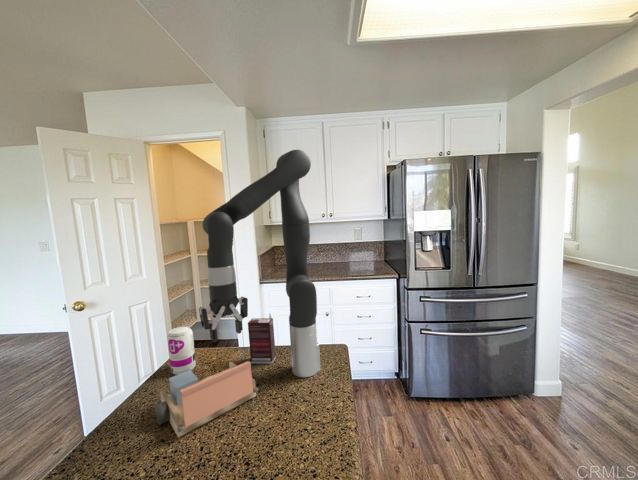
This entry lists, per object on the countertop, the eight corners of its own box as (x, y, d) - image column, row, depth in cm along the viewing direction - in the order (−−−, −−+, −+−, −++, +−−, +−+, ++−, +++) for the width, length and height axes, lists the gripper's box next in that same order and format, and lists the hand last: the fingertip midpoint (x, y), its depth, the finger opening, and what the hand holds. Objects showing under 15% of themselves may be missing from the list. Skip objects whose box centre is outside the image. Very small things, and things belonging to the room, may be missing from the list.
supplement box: (276, 357, 106) (273, 317, 105) (272, 364, 101) (269, 322, 100) (254, 357, 107) (252, 317, 106) (250, 363, 103) (247, 322, 101)
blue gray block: (191, 385, 86) (190, 369, 85) (199, 394, 80) (198, 378, 80) (170, 394, 82) (169, 378, 81) (177, 405, 76) (176, 388, 76)
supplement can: (186, 376, 96) (182, 335, 95) (165, 374, 98) (161, 334, 97) (200, 364, 104) (196, 325, 103) (181, 362, 106) (177, 325, 105)
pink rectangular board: (251, 390, 82) (248, 361, 82) (253, 392, 81) (250, 362, 81) (183, 425, 69) (180, 390, 69) (185, 427, 68) (181, 392, 68)
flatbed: (239, 372, 97) (238, 358, 97) (265, 394, 84) (264, 378, 84) (152, 411, 79) (150, 395, 78) (168, 446, 66) (166, 427, 65)
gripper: (239, 275, 87) (243, 326, 88) (192, 284, 77) (197, 341, 78) (251, 278, 81) (255, 332, 83) (201, 288, 72) (207, 349, 73)
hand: (227, 336), depth 81 cm, fingers open, 6 cm apart
